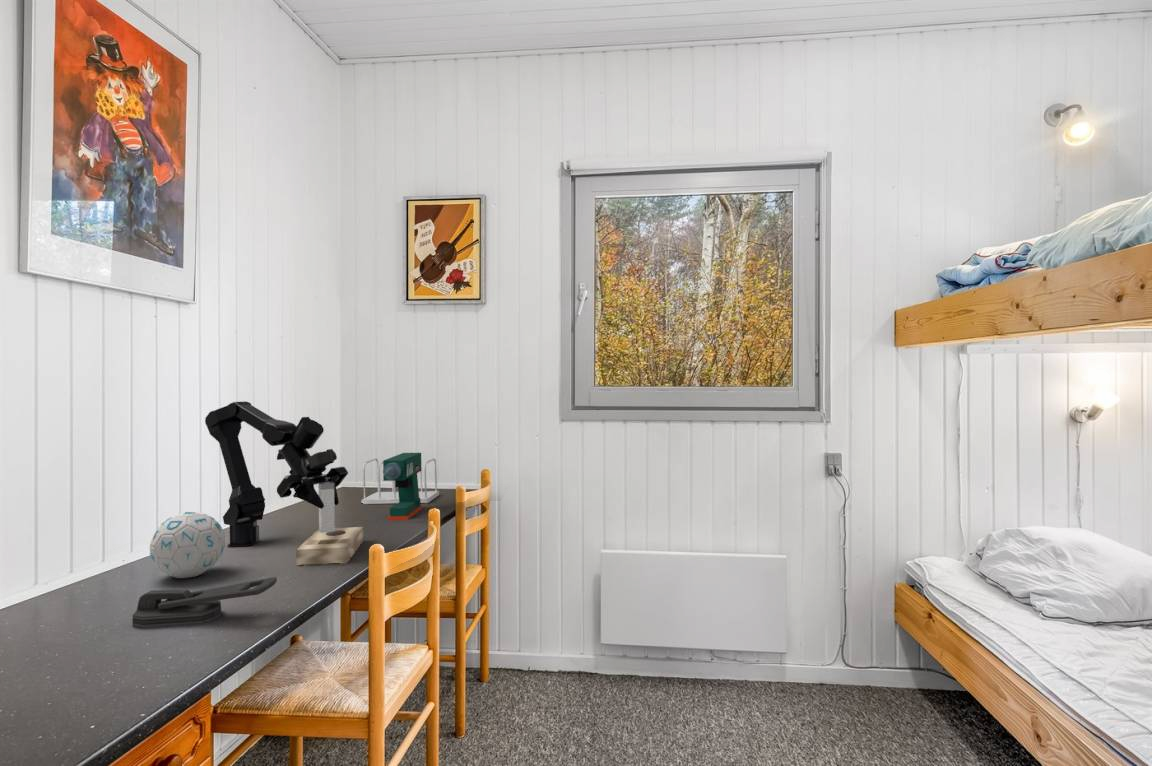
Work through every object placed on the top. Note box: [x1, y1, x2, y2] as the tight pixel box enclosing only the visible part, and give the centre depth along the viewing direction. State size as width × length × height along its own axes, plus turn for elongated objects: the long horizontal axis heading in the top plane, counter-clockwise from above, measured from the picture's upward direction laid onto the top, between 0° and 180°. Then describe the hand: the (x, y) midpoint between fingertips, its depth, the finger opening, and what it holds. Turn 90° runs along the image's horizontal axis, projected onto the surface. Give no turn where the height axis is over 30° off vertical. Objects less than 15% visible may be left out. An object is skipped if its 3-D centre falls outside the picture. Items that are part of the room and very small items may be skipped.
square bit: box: [318, 481, 336, 533], centre depth 161 cm, size 3×3×12 cm
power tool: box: [382, 452, 423, 521], centre depth 206 cm, size 32×7×20 cm, turn 179°
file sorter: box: [360, 457, 440, 505], centre depth 239 cm, size 25×17×16 cm
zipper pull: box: [132, 576, 278, 629], centre depth 120 cm, size 9×7×25 cm
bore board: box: [295, 526, 364, 565], centre depth 165 cm, size 12×22×4 cm, turn 9°
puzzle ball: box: [149, 511, 226, 579], centre depth 146 cm, size 15×15×15 cm
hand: (330, 505), depth 160 cm, fingers closed on square bit, 4 cm apart
